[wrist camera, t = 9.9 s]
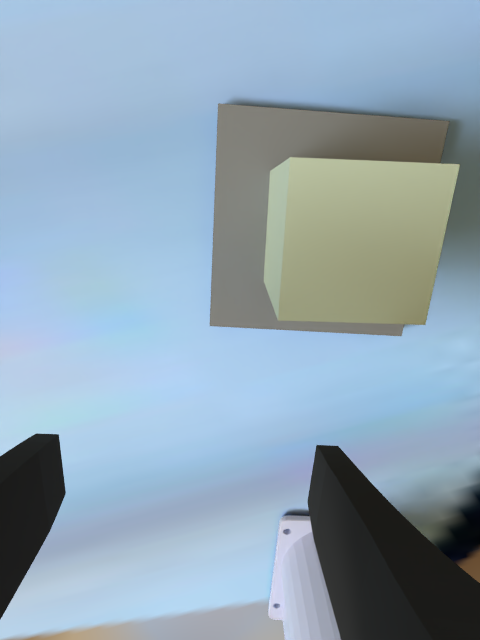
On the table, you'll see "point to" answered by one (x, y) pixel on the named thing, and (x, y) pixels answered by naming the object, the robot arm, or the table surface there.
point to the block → (355, 239)
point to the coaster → (253, 193)
